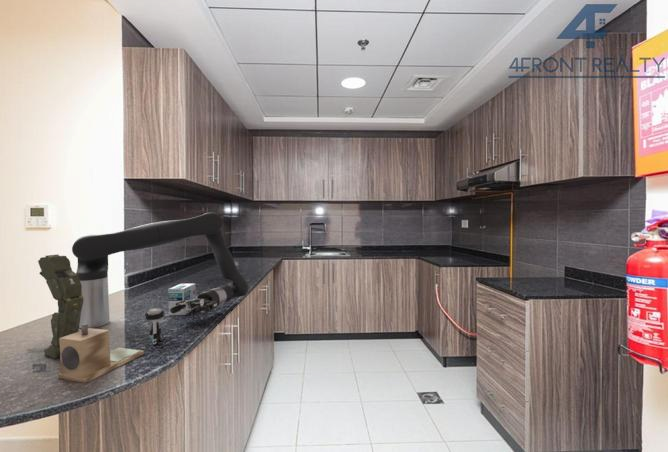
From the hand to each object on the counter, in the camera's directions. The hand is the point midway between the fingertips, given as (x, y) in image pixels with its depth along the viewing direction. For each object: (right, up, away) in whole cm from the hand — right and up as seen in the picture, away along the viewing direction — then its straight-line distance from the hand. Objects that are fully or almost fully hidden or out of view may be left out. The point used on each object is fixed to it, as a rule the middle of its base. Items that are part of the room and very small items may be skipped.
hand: (181, 311), depth 109 cm
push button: (-3, -7, -11) cm, 13 cm away
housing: (-8, -7, -26) cm, 28 cm away
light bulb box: (-10, -6, +22) cm, 25 cm away
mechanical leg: (-25, -8, -18) cm, 32 cm away
